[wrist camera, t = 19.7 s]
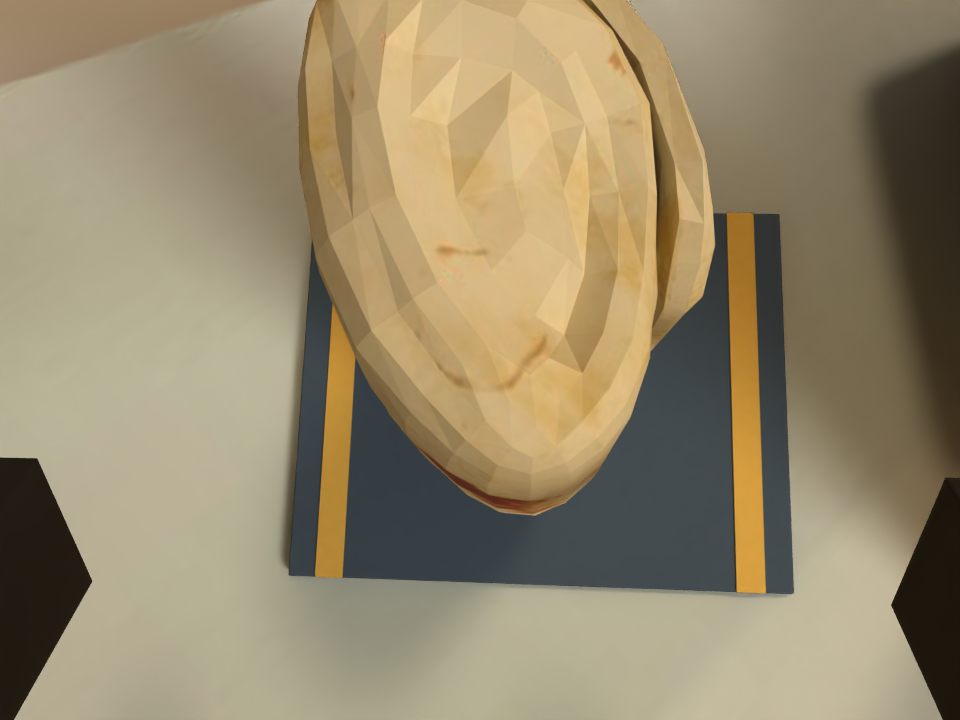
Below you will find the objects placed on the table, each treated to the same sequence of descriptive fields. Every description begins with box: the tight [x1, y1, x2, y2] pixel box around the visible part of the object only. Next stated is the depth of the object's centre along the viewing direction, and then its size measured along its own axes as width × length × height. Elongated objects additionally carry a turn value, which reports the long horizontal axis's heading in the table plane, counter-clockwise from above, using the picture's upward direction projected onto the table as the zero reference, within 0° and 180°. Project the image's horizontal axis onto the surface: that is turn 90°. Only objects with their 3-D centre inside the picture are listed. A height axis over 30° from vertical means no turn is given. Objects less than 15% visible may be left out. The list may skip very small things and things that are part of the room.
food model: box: [298, 0, 715, 516], centre depth 20 cm, size 10×7×20 cm
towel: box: [289, 213, 794, 594], centre depth 30 cm, size 18×14×1 cm
